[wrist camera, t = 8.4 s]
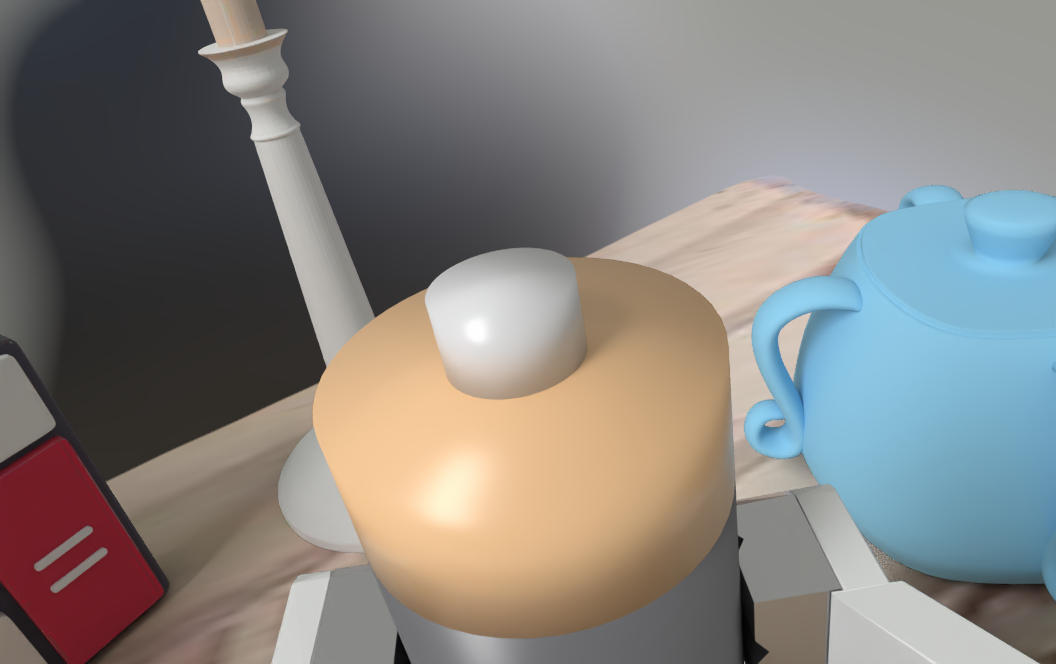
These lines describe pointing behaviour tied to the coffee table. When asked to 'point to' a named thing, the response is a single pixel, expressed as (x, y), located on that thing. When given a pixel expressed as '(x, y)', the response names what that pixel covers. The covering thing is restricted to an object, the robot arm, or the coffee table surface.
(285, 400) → the coffee table surface
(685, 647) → the battery cell
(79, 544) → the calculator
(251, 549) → the coffee table surface
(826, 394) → the decorative pot
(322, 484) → the candlestick
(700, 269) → the coffee table surface
